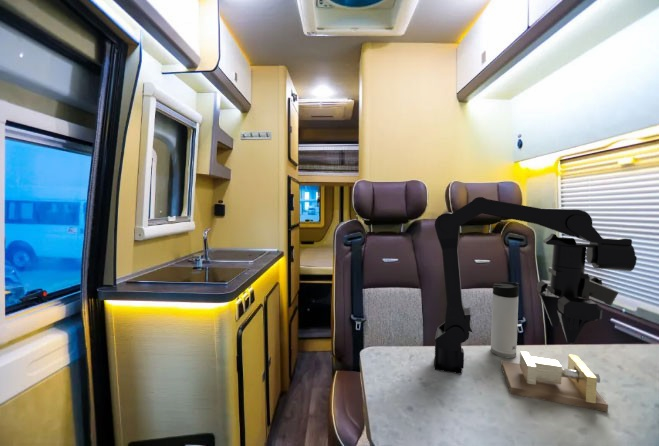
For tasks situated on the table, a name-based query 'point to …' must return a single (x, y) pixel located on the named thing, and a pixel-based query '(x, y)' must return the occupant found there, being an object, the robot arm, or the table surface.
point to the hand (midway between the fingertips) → (562, 334)
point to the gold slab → (583, 379)
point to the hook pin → (545, 370)
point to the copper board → (548, 389)
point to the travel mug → (504, 319)
